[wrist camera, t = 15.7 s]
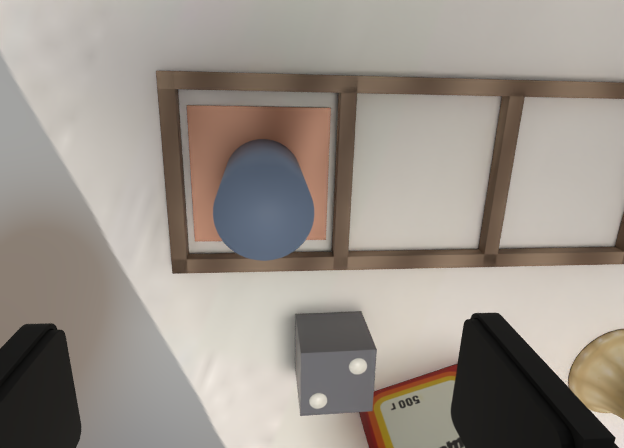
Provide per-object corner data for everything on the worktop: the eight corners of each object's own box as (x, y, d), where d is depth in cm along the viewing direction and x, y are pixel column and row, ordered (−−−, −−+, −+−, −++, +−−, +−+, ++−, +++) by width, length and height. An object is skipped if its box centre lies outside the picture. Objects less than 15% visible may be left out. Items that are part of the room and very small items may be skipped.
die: (361, 310, 34) (376, 350, 30) (358, 366, 36) (372, 412, 31) (295, 313, 34) (300, 354, 29) (295, 369, 35) (300, 416, 31)
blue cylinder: (302, 139, 29) (316, 165, 22) (300, 213, 31) (312, 260, 23) (224, 138, 29) (210, 163, 21) (226, 212, 30) (214, 261, 23)
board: (670, 83, 31) (683, 84, 30) (623, 258, 35) (633, 263, 34) (159, 70, 27) (155, 70, 26) (175, 267, 32) (172, 273, 31)
